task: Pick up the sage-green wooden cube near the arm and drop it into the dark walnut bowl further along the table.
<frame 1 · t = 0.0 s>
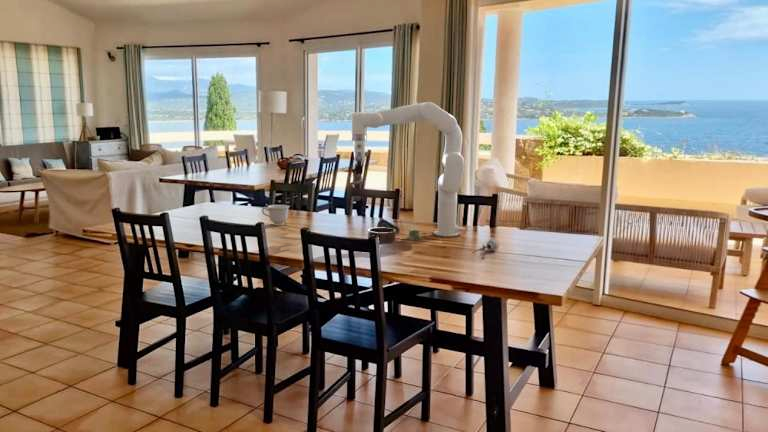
hand: (358, 172, 287), 31 cm above the table, tool pointing down, fingers open, 9 cm apart
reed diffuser: (485, 254, 255), on the table
bowl: (381, 240, 280), on the table
green cube: (413, 238, 284), on the table
teacup: (276, 224, 315), on the table
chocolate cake: (388, 232, 300), on the table
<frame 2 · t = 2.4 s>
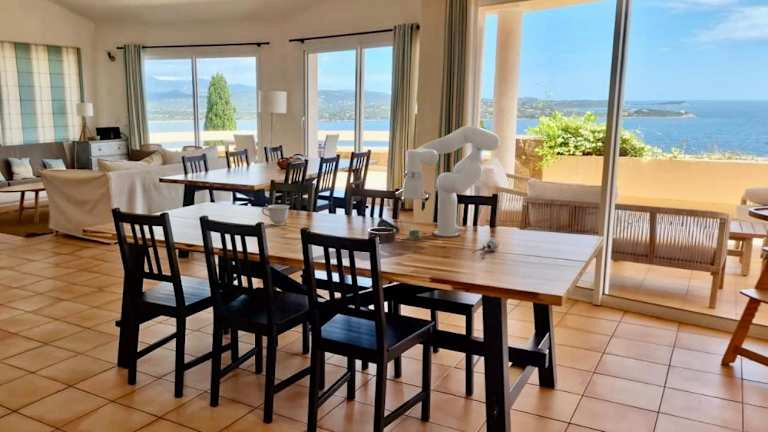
hand: (412, 210, 282), 14 cm above the table, tool pointing down, fingers open, 9 cm apart
nothing on the table moved.
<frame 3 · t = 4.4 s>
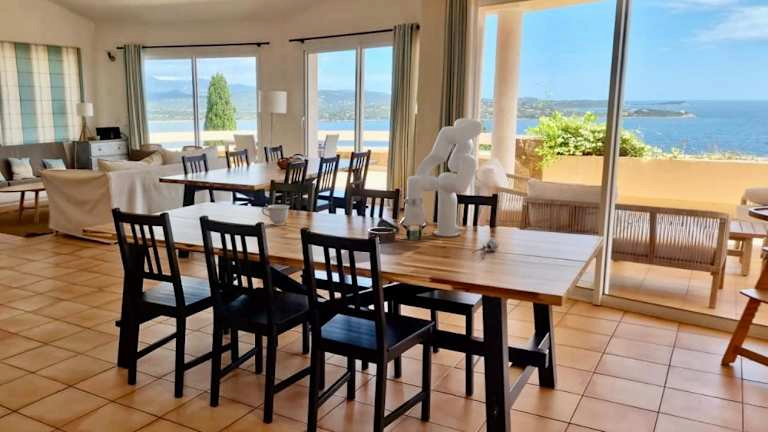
hand: (413, 237, 284), 0 cm above the table, tool pointing down, fingers closed on green cube, 4 cm apart
green cube: (413, 238, 284), on the table, touching gripper
everything else where it was.
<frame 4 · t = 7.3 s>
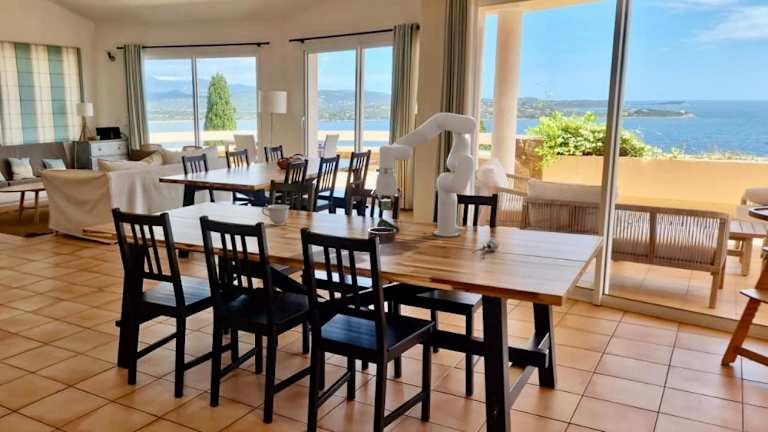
hand: (385, 208, 278), 15 cm above the table, tool pointing down, fingers closed on green cube, 4 cm apart
green cube: (385, 209, 278), point 15 cm above the table, touching gripper
everything else where it was.
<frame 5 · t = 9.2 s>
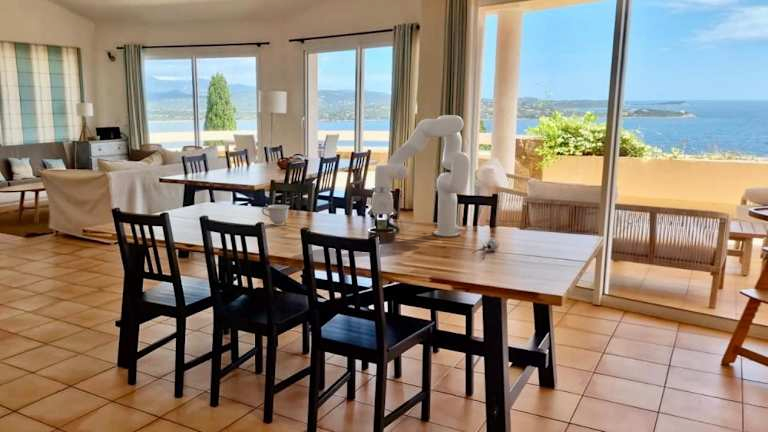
hand: (381, 227, 279), 6 cm above the table, tool pointing down, fingers closed on green cube, 4 cm apart
green cube: (381, 228, 279), point 6 cm above the table, touching gripper
everything else where it was.
when the fingers open (3 cm above the table, at t = 10.4 s): green cube drops 2 cm, resting on bowl.
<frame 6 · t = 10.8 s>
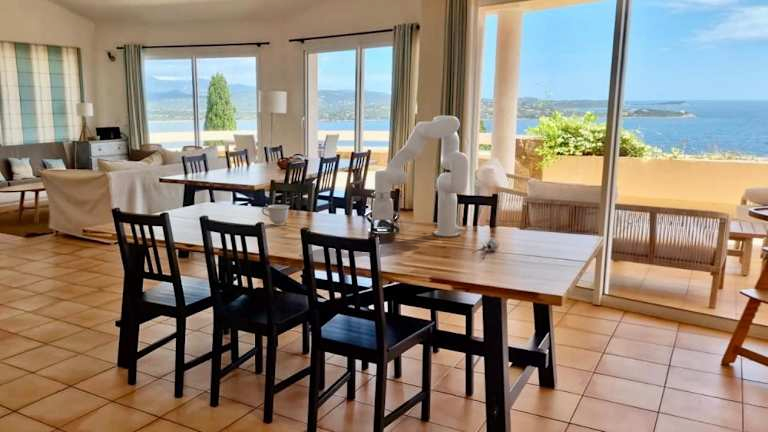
hand: (382, 231, 279), 4 cm above the table, tool pointing down, fingers open, 8 cm apart
green cube: (381, 239, 280), point 1 cm above the table, touching bowl
everything else where it was.
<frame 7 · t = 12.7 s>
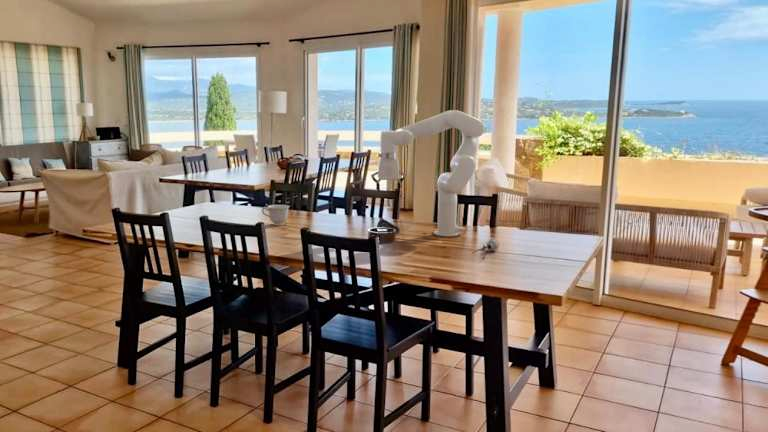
hand: (388, 191, 283), 23 cm above the table, tool pointing down, fingers open, 9 cm apart
nothing on the table moved.
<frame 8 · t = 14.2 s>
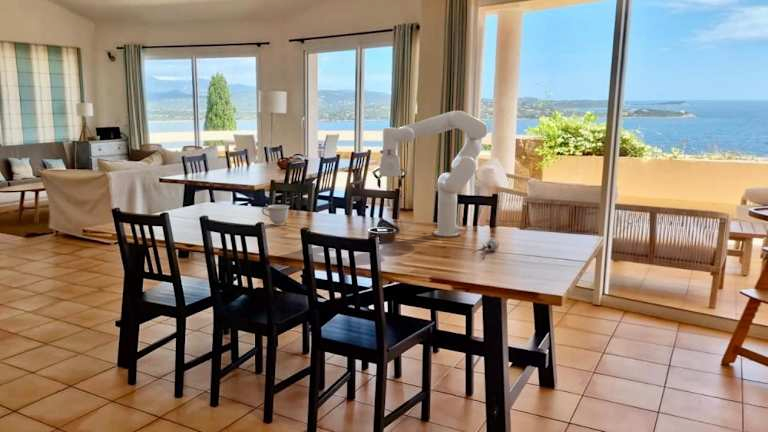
hand: (389, 187, 285), 24 cm above the table, tool pointing down, fingers open, 9 cm apart
nothing on the table moved.
at the end: green cube inside the target area in the bowl (0.1 cm from its centre), point 0.6 cm above the bowl's base; the gripper is holding nothing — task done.
